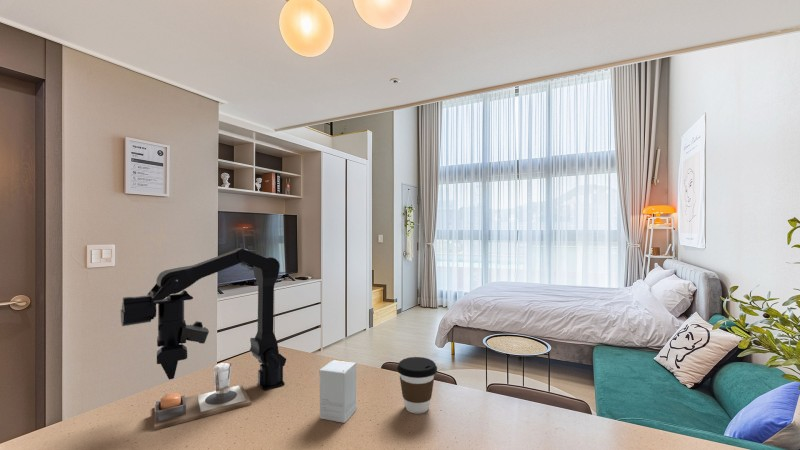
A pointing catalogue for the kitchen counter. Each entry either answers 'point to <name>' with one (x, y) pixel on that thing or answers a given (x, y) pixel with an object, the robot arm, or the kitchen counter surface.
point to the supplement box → (338, 391)
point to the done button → (170, 401)
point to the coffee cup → (417, 382)
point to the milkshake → (222, 380)
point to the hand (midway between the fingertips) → (171, 378)
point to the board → (200, 407)
